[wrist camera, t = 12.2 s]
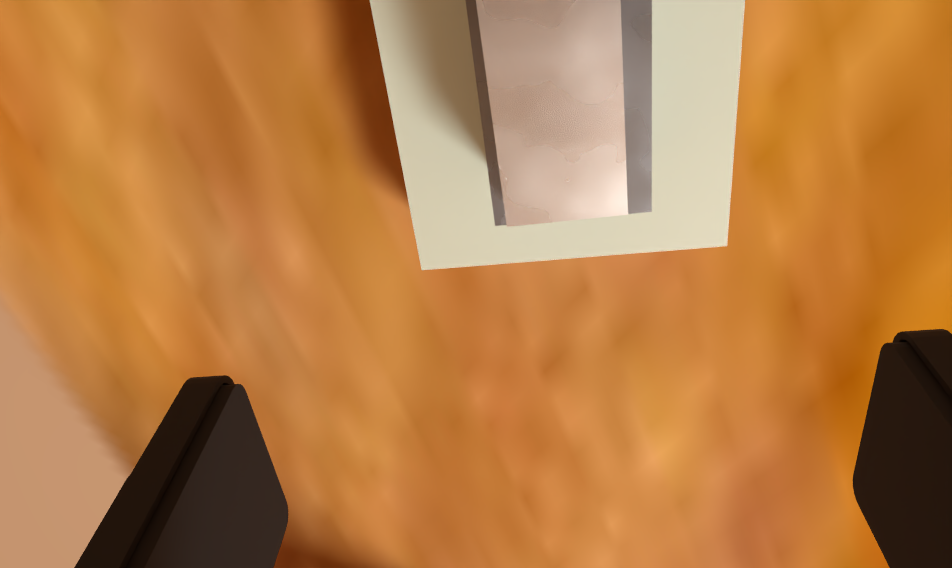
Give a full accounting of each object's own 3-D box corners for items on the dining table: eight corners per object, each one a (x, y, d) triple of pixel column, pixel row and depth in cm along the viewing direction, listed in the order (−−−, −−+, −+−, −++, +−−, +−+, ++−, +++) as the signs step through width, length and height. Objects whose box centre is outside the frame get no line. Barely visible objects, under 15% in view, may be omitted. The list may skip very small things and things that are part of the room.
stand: (704, 199, 32) (727, 245, 28) (431, 222, 33) (421, 270, 30) (733, -340, 22) (771, -365, 19) (343, -276, 23) (313, -289, 20)
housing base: (631, -160, 21) (652, -152, 18) (635, 160, 27) (651, 211, 23) (459, -135, 22) (449, -123, 18) (497, 173, 27) (495, 225, 24)
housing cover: (609, -118, 18) (616, -112, 17) (621, 191, 23) (627, 214, 22) (467, -96, 19) (463, -89, 17) (507, 203, 23) (506, 226, 22)
